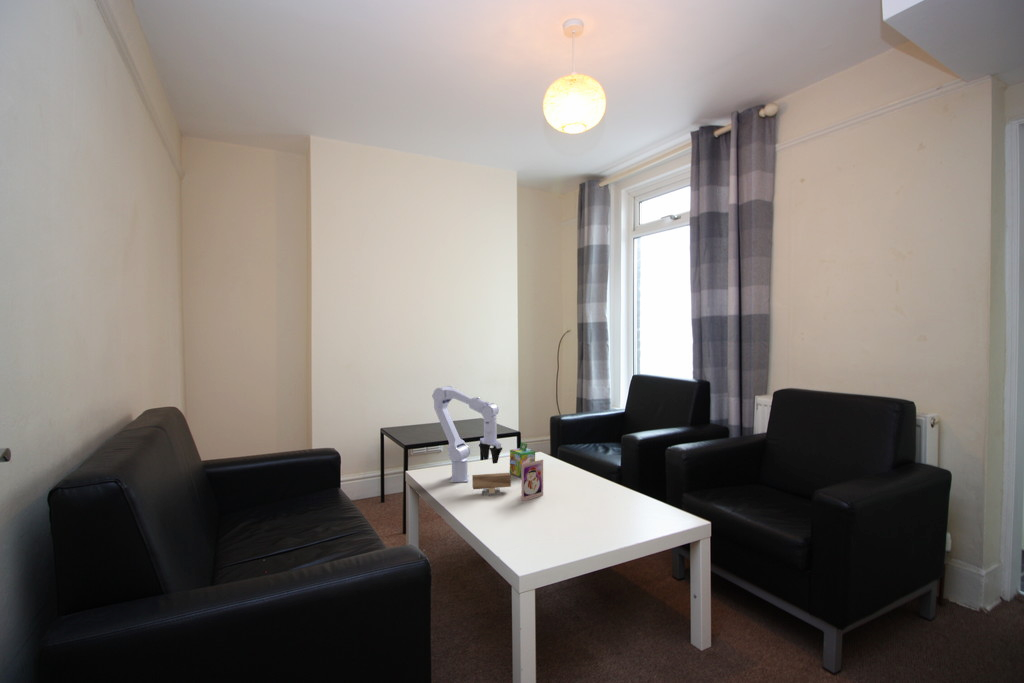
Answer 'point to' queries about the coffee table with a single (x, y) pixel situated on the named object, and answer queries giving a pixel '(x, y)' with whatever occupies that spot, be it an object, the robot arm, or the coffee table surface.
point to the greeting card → (531, 479)
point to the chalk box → (520, 458)
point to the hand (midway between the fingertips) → (490, 461)
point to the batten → (491, 480)
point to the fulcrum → (491, 491)
